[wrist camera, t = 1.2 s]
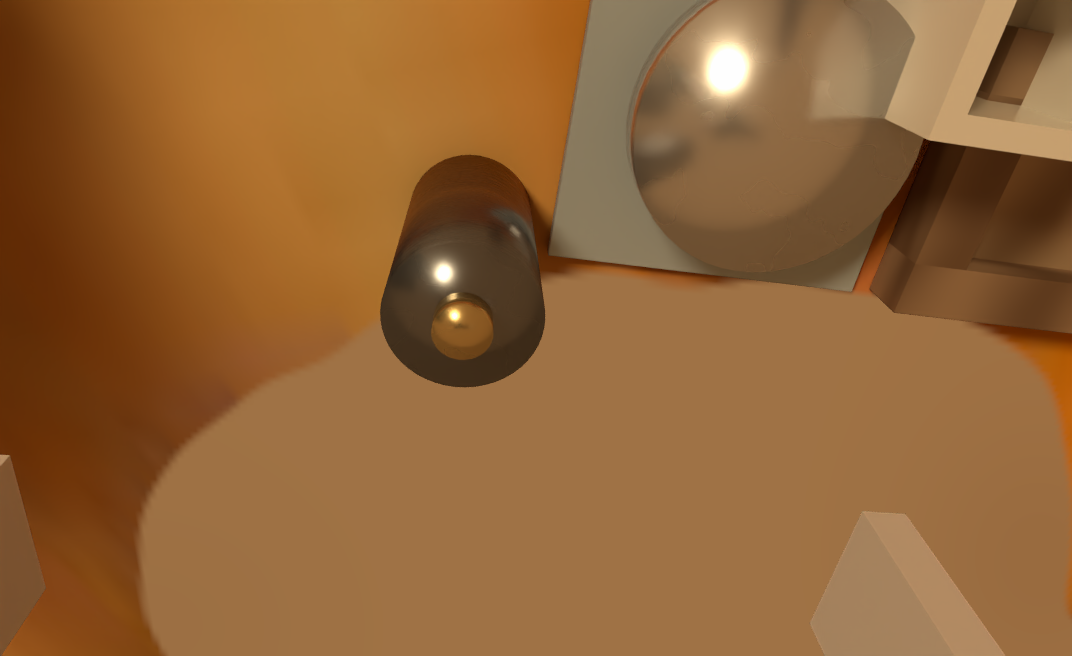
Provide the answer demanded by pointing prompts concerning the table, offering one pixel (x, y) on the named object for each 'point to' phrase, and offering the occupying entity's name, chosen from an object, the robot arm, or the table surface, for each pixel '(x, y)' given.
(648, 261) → the base
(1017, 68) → the brown square tray
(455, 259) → the cell
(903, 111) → the cup
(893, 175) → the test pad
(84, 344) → the table surface
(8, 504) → the robot arm
